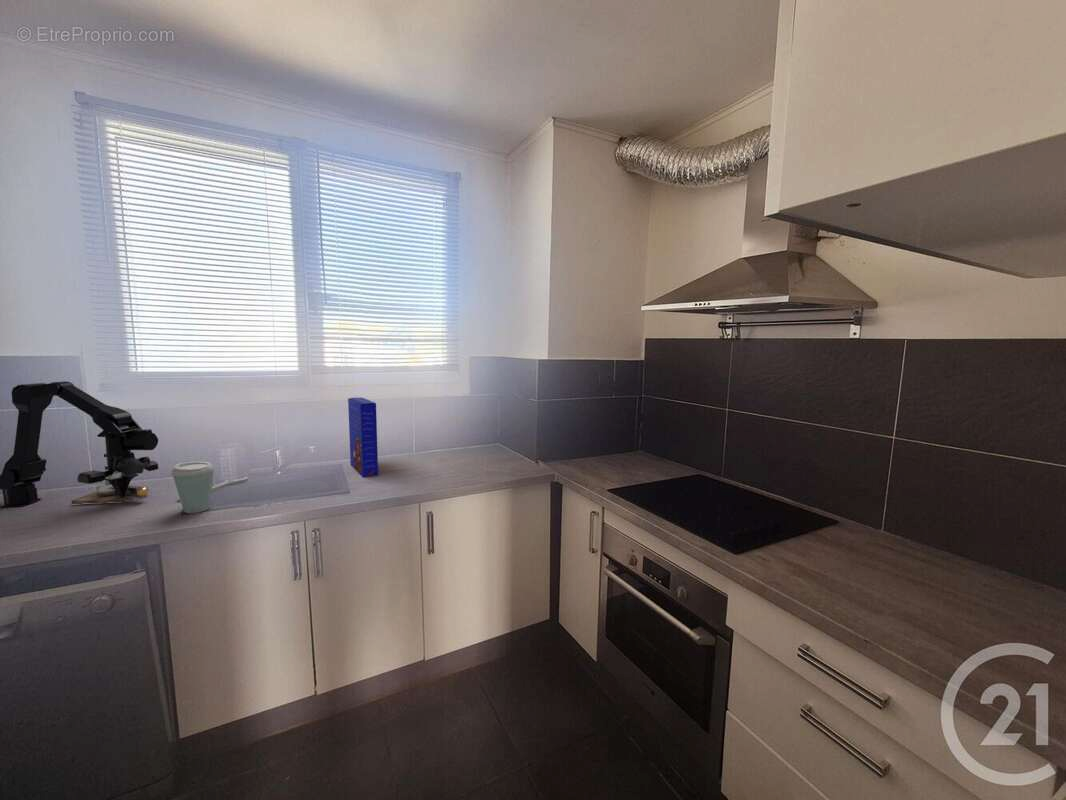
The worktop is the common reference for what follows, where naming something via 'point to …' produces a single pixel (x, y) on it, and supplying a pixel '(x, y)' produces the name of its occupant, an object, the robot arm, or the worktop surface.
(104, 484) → the amber-knobbed lever
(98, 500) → the block
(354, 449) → the cereal box
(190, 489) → the disposable coffee cup
